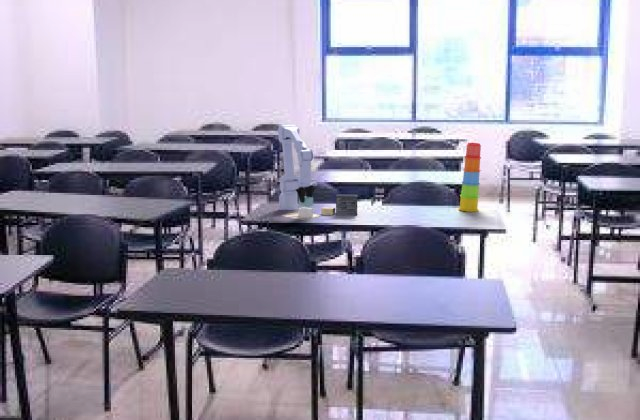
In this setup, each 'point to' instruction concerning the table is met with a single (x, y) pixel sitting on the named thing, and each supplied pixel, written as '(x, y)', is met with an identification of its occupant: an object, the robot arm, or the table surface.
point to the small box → (346, 204)
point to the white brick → (305, 212)
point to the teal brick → (307, 202)
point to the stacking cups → (471, 179)
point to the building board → (296, 216)
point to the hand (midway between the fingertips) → (305, 201)
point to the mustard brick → (328, 211)
